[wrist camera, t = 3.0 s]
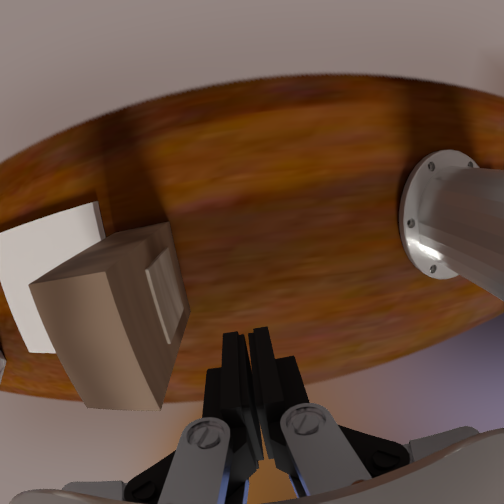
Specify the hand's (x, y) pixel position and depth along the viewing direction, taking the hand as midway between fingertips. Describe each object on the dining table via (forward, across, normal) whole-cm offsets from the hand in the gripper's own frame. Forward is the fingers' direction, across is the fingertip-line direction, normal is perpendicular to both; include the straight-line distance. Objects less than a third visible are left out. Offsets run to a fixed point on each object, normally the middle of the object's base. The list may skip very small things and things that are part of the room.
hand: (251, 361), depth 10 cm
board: (+14, +19, 0) cm, 23 cm away
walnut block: (+14, +8, 0) cm, 16 cm away
